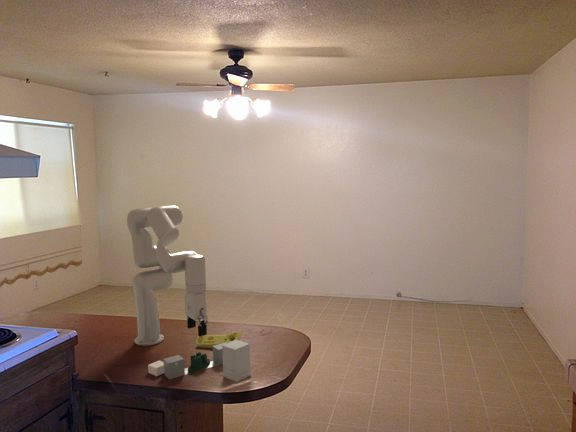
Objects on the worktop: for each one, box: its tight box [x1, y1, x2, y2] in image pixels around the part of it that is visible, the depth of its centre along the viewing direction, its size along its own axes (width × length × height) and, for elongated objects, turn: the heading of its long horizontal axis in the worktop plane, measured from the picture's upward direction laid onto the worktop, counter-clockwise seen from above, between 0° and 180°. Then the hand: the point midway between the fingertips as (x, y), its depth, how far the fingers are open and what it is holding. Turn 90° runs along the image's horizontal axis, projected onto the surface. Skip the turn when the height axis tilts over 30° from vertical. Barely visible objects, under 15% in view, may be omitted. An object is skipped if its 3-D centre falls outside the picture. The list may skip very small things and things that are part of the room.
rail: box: [174, 360, 222, 379], centre depth 180 cm, size 5×26×1 cm, turn 125°
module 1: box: [162, 354, 186, 380], centre depth 174 cm, size 5×6×6 cm
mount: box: [187, 351, 211, 374], centre depth 180 cm, size 11×4×5 cm, turn 148°
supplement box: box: [222, 340, 252, 384], centre depth 172 cm, size 7×7×13 cm
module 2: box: [212, 343, 227, 366], centre depth 186 cm, size 5×6×6 cm
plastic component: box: [195, 329, 244, 349], centre depth 204 cm, size 20×7×10 cm
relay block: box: [147, 360, 164, 377], centre depth 177 cm, size 5×5×4 cm
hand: (196, 331), depth 179 cm, fingers open, 9 cm apart
